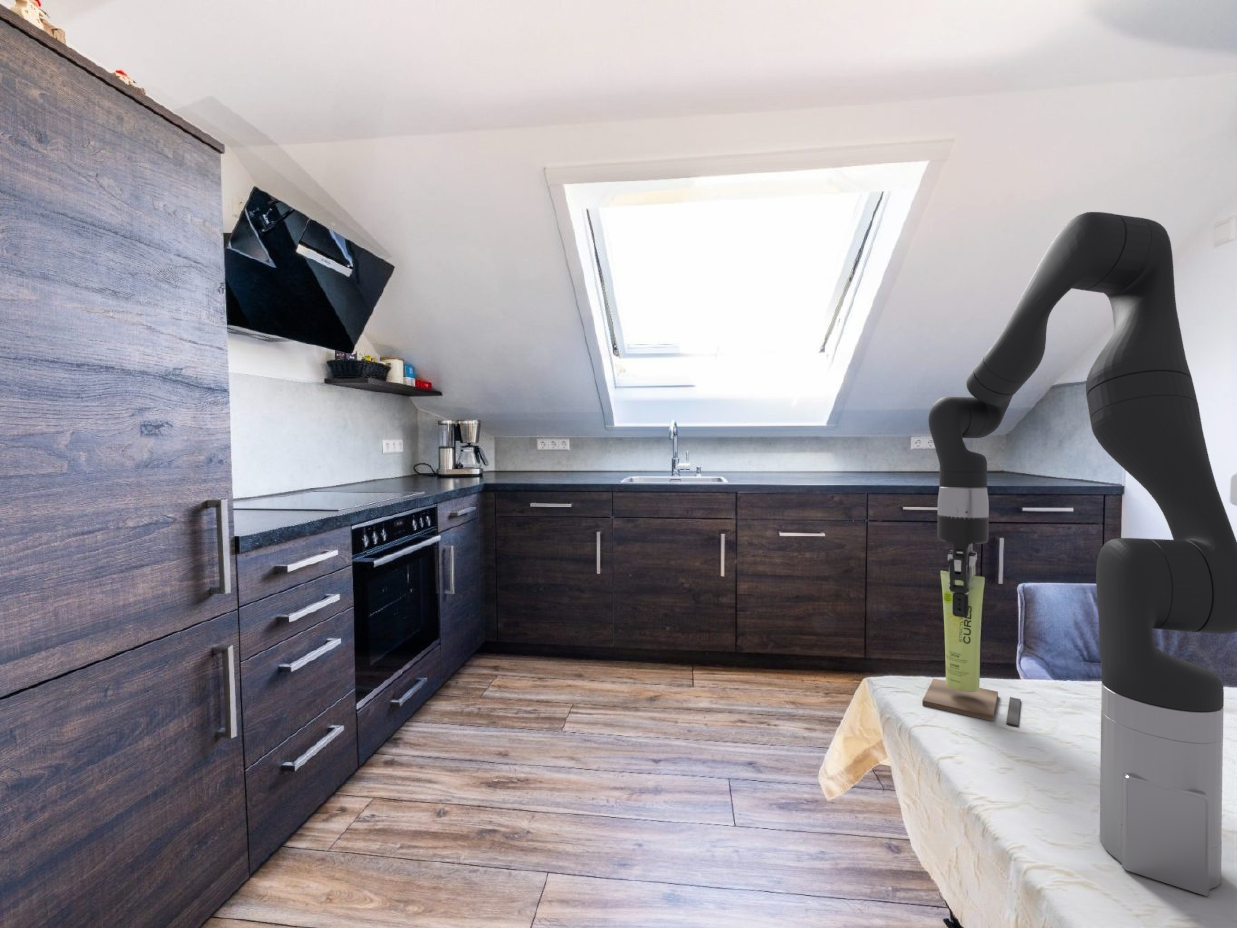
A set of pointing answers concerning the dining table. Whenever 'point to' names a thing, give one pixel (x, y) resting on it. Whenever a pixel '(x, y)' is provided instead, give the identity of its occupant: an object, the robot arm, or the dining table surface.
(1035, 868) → the dining table surface
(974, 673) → the tube
